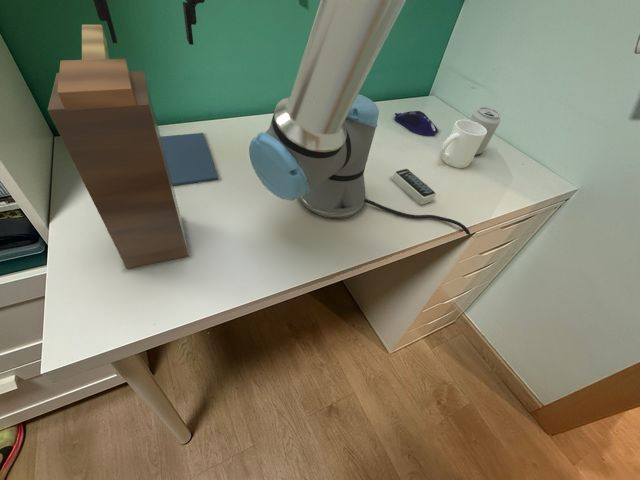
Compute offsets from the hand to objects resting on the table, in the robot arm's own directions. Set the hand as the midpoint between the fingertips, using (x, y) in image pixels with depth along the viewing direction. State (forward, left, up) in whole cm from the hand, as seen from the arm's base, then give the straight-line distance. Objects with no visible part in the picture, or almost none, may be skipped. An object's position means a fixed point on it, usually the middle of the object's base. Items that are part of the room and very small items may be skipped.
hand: (154, 41), depth 64 cm
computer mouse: (-45, -56, -21) cm, 75 cm away
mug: (-60, -42, -24) cm, 77 cm away
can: (-64, -53, -24) cm, 86 cm away
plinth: (-20, +25, -24) cm, 40 cm away
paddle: (-15, +21, +4) cm, 27 cm away
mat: (-5, +2, -24) cm, 24 cm away
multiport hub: (-55, -22, -24) cm, 64 cm away
